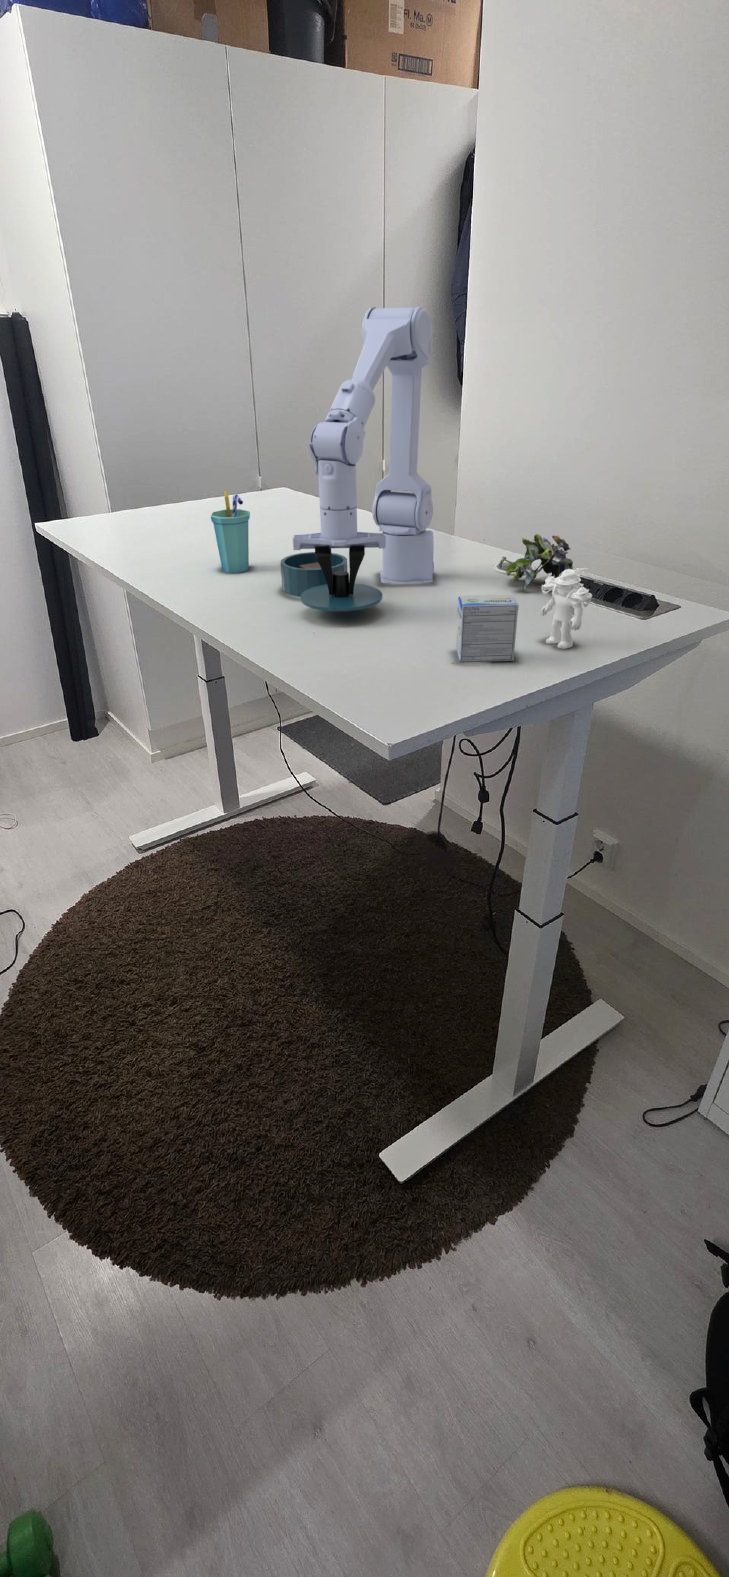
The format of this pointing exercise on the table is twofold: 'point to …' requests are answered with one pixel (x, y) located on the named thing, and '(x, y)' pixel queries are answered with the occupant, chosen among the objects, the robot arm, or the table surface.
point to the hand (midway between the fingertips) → (341, 593)
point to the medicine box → (486, 627)
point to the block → (310, 566)
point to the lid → (341, 595)
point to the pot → (306, 572)
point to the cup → (232, 536)
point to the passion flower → (549, 556)
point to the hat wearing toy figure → (565, 605)
